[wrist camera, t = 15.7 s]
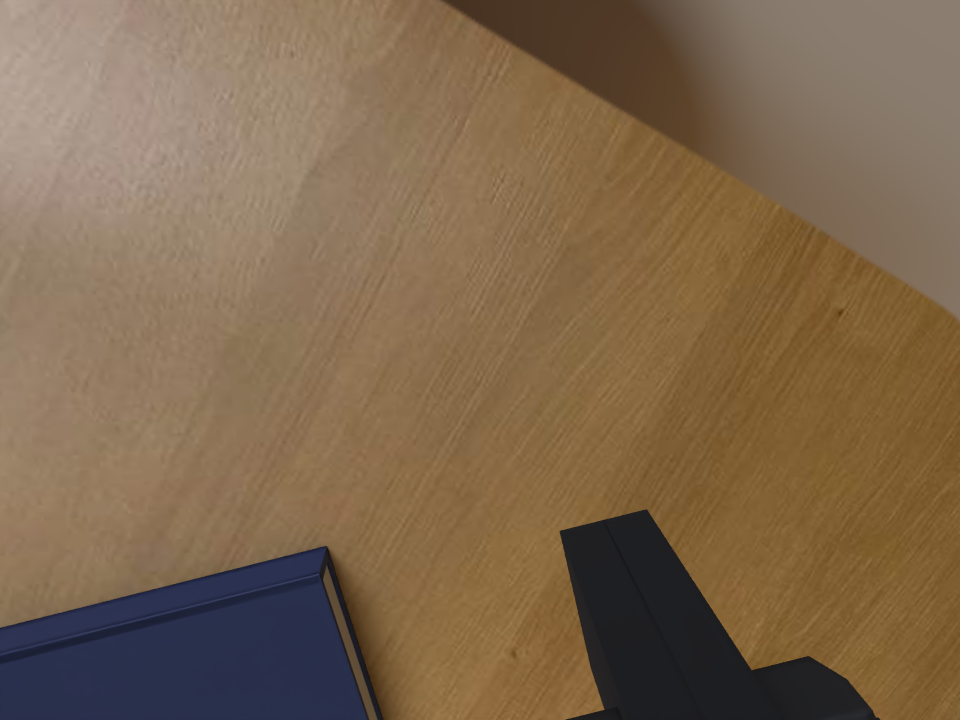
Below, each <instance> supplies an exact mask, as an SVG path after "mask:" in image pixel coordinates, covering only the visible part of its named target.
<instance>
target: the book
mask: <svg viewBox="0 0 960 720" xmlns="http://www.w3.org/2000/svg"><path fill="white" fill-rule="evenodd" d="M0 720H383V717H382V714H381V711H380V708H379V705H378V702H377V699H376V696H375V693H374V690H373V687H372V684H371V681H370V678H369V674H368V671H367V668H366V665H365V662H364V659H363V656H362V653H361V650H360V647H359V644H358V641H357V638H356V635H355V631H354V628H353V625H352V622H351V619H350V616H349V613H348V610H347V607H346V604H345V601H344V598H343V595H342V592H341V588H340V585H339V582H338V579H337V576H336V573H335V570H334V567H333V564H332V561H331V558H330V555H329V552H328V548H327V546H324V547H320V548H316V549H312V550H308V551H304V552H300V553H296V554H293V555H289V556H285V557H281V558H277V559H273V560H269V561H265V562H261V563H257V564H253V565H249V566H245V567H241V568H237V569H233V570H229V571H225V572H221V573H217V574H213V575H209V576H205V577H201V578H197V579H193V580H189V581H185V582H181V583H177V584H173V585H169V586H165V587H161V588H157V589H153V590H149V591H145V592H141V593H137V594H134V595H130V596H126V597H122V598H118V599H114V600H110V601H106V602H102V603H98V604H94V605H90V606H86V607H82V608H78V609H74V610H70V611H66V612H62V613H58V614H54V615H50V616H46V617H42V618H38V619H34V620H30V621H26V622H22V623H18V624H14V625H10V626H6V627H2V628H0Z"/></svg>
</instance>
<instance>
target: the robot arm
mask: <svg viewBox="0 0 960 720" xmlns="http://www.w3.org/2000/svg"><path fill="white" fill-rule="evenodd" d="M560 535H561V539H562V544H563V548H564V552H565V557H566V561H567V565H568V570H569V574H570V579H571V583H572V587H573V592H574V596H575V601H576V605H577V609H578V614H579V618H580V622H581V627H582V631H583V636H584V640H585V644H586V649H587V653H588V658H589V662H590V666H591V670H592V673H593V676H594V679H595V682H596V685H597V688H598V691H599V694H600V697H601V700H602V703H603V706H604V709H605V710H602V711H598V712H594V713H590V714H586V715H582V716H578V717H574V718H570V719H566V720H880V719H879V718H876V717H875V715H874V713H873V710H872V709H871V708H870V707H869V706H868V704H867V703H866V702H865V701H864V699H863V698H862V697H861V696H860V695H859V693H858V692H857V691H856V690H855V689H854V687H853V686H852V685H851V684H850V683H849V681H848V680H847V679H846V678H844V677H842V676H841V675H839V674H837V673H836V672H834V671H833V670H831V669H829V668H828V667H826V666H824V665H823V664H821V663H819V662H818V661H816V660H814V659H813V658H811V657H809V656H807V657H803V658H799V659H795V660H791V661H787V662H783V663H779V664H775V665H771V666H767V667H763V668H759V669H755V670H751V669H750V667H749V666H748V664H747V663H746V661H745V660H744V658H743V657H742V655H741V653H740V652H739V650H738V649H737V647H736V646H735V644H734V643H733V641H732V640H731V638H730V637H729V635H728V633H727V632H726V630H725V629H724V627H723V626H722V624H721V623H720V621H719V620H718V618H717V617H716V615H715V613H714V612H713V610H712V609H711V607H710V606H709V604H708V603H707V601H706V600H705V598H704V597H703V595H702V593H701V592H700V590H699V589H698V587H697V586H696V584H695V583H694V581H693V580H692V578H691V577H690V575H689V573H688V572H687V570H686V569H685V567H684V566H683V564H682V563H681V561H680V560H679V558H678V557H677V555H676V553H675V552H674V550H673V549H672V547H671V546H670V544H669V543H668V541H667V540H666V538H665V537H664V535H663V534H662V532H661V530H660V529H659V527H658V526H657V524H656V523H655V521H654V520H653V518H652V517H651V515H650V514H649V512H648V510H647V509H646V510H642V511H638V512H634V513H630V514H626V515H622V516H618V517H614V518H610V519H606V520H602V521H598V522H594V523H590V524H586V525H582V526H578V527H573V528H569V529H565V530H561V531H560Z"/></svg>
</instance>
